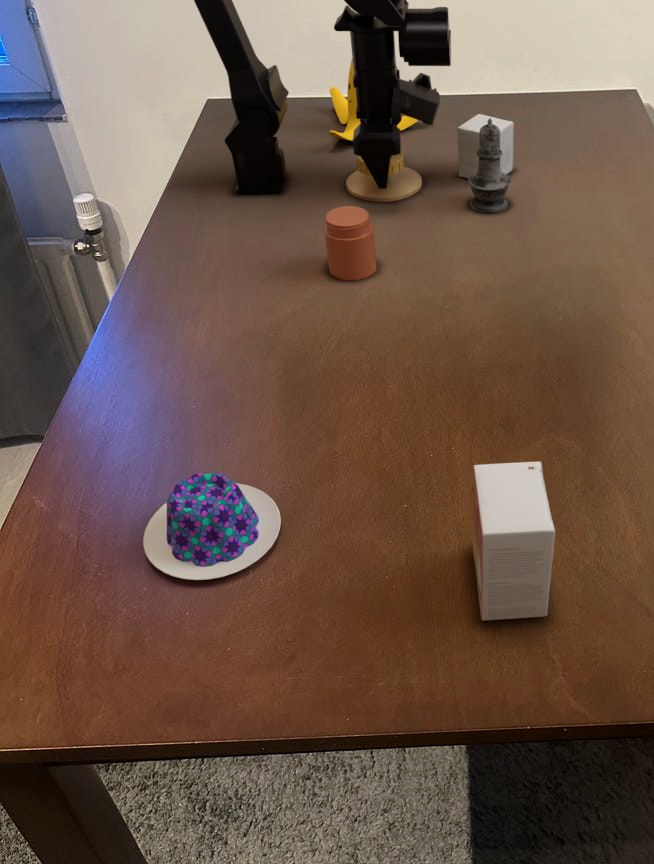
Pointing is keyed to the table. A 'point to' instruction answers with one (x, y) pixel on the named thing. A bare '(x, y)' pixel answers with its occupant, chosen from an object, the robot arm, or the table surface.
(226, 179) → the table surface
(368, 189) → the coaster
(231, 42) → the robot arm
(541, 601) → the small box
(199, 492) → the pudding
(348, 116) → the banana peel
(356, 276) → the jar
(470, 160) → the product box
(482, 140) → the grey tall turned piece
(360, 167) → the jar lid
